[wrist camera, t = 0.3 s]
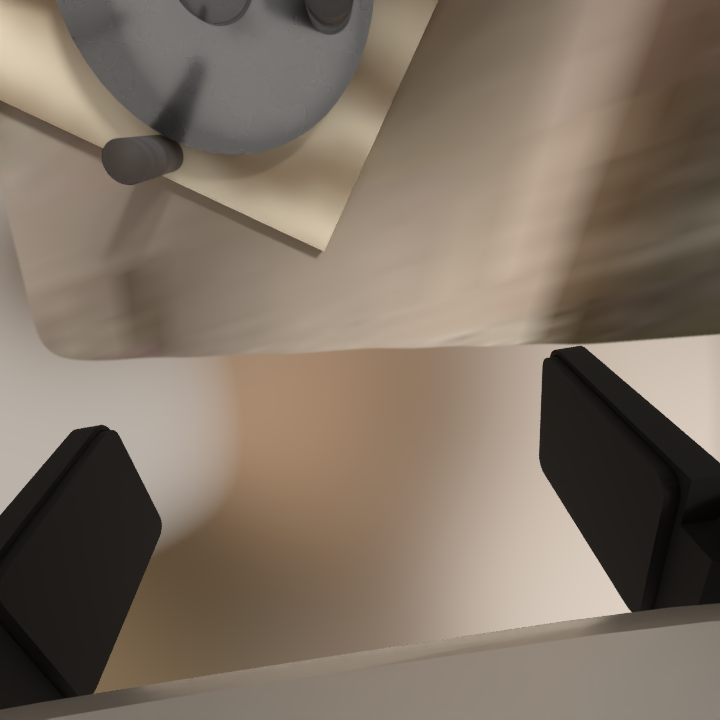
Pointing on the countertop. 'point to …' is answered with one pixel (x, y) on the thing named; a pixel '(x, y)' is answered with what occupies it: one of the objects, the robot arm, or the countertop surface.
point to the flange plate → (223, 64)
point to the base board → (205, 169)
